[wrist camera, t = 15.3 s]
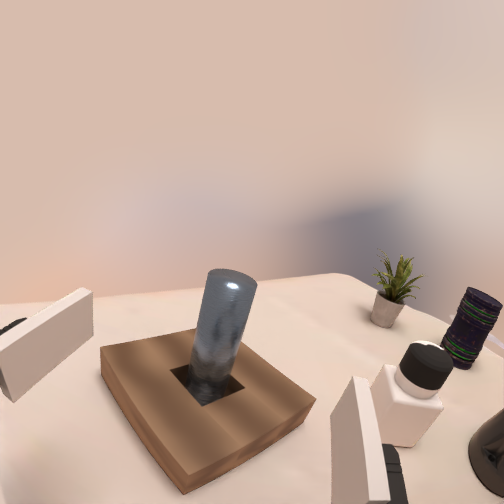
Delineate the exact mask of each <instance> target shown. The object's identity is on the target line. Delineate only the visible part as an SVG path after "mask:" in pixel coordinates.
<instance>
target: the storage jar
mask: <svg viewBox="0 0 504 504" xmlns="http://www.w3.org/2000/svg"><path fill="white" fill-rule="evenodd" d="M502 307H503V305H502V304H501V303H500V302H499V301H497V300H496V299H494V298H493V297H491V296H489V295H488V294H486V293H484V292H482V291H479V290H477V289H474V288H471V287H468V288H467V290H466V293H465V294H464V297H463V298H462V300H461V302H460V305H459V307H458V310H457V314H456V316H455V318H454V320H453V322H452V324H451V326H450V327H449V328H448V329H447V332H446V334H445V335H444V337H443V340H442V342H441V345H440V347H441V348H443V349H444V350H445V351H446V352H447V353H448V354H449V355H450V357H451V358H452V360H453V366H454V367H456V368H459V369H462V370H468V369H470V368H471V366H472V363H473V362H474V361H475V359H476V358H477V357H478V355H479V352H480V351H481V350H482V347H483V343H484V341H485V339H486V338H487V336H488V334H489V332H490V331H491V330H492V328H493V327H494V324H495V322H496V321H497V319H498V317H497V316H499V313H500V310H501V309H502Z"/></svg>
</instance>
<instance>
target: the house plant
mask: <svg viewBox="0 0 504 504" xmlns="http://www.w3.org/2000/svg"><path fill="white" fill-rule="evenodd" d="M386 256H387V255H386ZM408 260H409V258H407V259H406V260H405V261H404V263H403V256H402V255H401V258H400V261H399V263H398V266H397V270H396V275H395V277H393V274H392V270H391V267H390V262H387V261H386V260H385V262H386V263H387V264H386V263H385V262H384V264H385V266H386V268H387V271H388V274H386V273H383V272H381V273H382V274H384V275H385V276H387V277H388V278H389V284H386V283H387V282H386V283H385V281H386V280H385V281H384V280H383V279H382V278H384V277H383V276H381V274H380V272H378V273H379V274H373V275H377V276H380V278H381V280H382V282H381V281H380V282H378V283H377V284H383V285H384V284H385V285H384V287H383V289H384V288H385V291H382V290H380V291H378V292H377V295H376V299H375V303H374V307H373V310H372V314H371V321H372V322H373V323H375V324H376V325H378V326H380V327H384V328H390V327H391V325H392V324H393V322H394V321H395V319H396V318H397V316H398V315H399V313H400V312H401V310H402V309H403V307H404V305H405V301H404V300H403V298H405V297H408V296H411V295H405V296H403V297H401V296H402V295H404V294H406V293H408V292H411V289H408V288H411V287H416V286H409V287H407V286H408V285H410V284H411V283H413V282H414V281H415V280H416V279H418V278H420V277H422V276H421V275H420V276H419V277H417V278H414V279H412V280H411V281H410V282H408V283H407V284H406V285H405V286H403V285H404V283H405V282H406V280H407V278H408V277H409V275H410V273H411V271H412V266H411V267H410V265H411V262H410V261H411V260H412V259H410V260H409V262H408V263H407V261H408ZM388 263H389V264H388ZM406 263H407V264H406ZM387 265H388V266H387ZM388 267H389V268H388ZM406 268H407V269H406ZM409 268H410V269H409ZM405 269H406V271H405ZM389 270H390V272H389ZM377 271H378V270H377ZM404 271H405V273H404ZM403 273H404V274H403ZM384 279H385V278H384ZM390 279H391V283H390ZM383 282H384V283H383ZM402 286H403V287H402ZM401 287H402V288H401ZM406 287H407V288H406ZM400 288H401V289H400ZM418 288H419V287H418ZM403 289H404V290H403ZM402 290H403V291H402ZM401 291H402V292H401ZM400 292H401V293H400ZM398 294H399V295H398ZM400 297H401V298H400ZM412 297H414V296H412ZM414 298H415V297H414Z"/></svg>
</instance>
